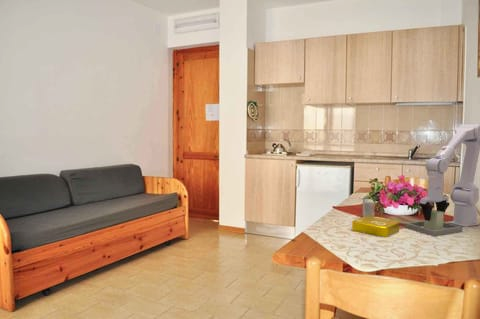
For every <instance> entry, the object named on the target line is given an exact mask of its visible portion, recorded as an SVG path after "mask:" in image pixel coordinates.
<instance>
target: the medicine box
mask: <svg viewBox="0 0 480 319" xmlns="http://www.w3.org/2000/svg"><path fill="white" fill-rule="evenodd" d="M361 213H362V214H361V215H362V217H364V216H373V217H375V202H374V200H373V199H372V198H363V199H362V212H361ZM362 217H361V218H362Z"/></svg>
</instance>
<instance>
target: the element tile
mask: <svg viewBox="0 0 480 319" xmlns="http://www.w3.org/2000/svg"><path fill="white" fill-rule="evenodd" d="M399 223H400V222H399V221H396V220H391V219H385V218H384V217H378V216H374V217H373V216H364V217H360V218H357V219H353V221H352V223H351V224H352V225H351V226H352V228H351V231H353V232H356V233H361V234H366V235H370V236H375V237H381V238H388V237H391V236H393V235H394V234H396V233H398V232H400V225H399Z"/></svg>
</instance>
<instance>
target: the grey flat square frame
mask: <svg viewBox="0 0 480 319" xmlns="http://www.w3.org/2000/svg"><path fill="white" fill-rule="evenodd" d="M463 227H464V226H460V225H456V224H452V223H449V222H447V221H443V229H440V230H434V231H433V230H430V229H426V228H424V221H416V222H409V223H405V226H404V228H405V229H407V230H411V231H415V232H418V233H420V234H424V235H427V236H431V237H438V236H444V235H451V234H456V233H463V230H464V229H463Z"/></svg>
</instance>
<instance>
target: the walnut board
mask: <svg viewBox="0 0 480 319" xmlns="http://www.w3.org/2000/svg"><path fill="white" fill-rule="evenodd" d="M383 218H385V219H391V220H396V221H399V222H400V223H399V226H402V227H405V223H409V222H416V221H424V219H422V218H418V217H414V216H411V215H406V214H400V215H395V216H394V215H392V216H386V217H383Z"/></svg>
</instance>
